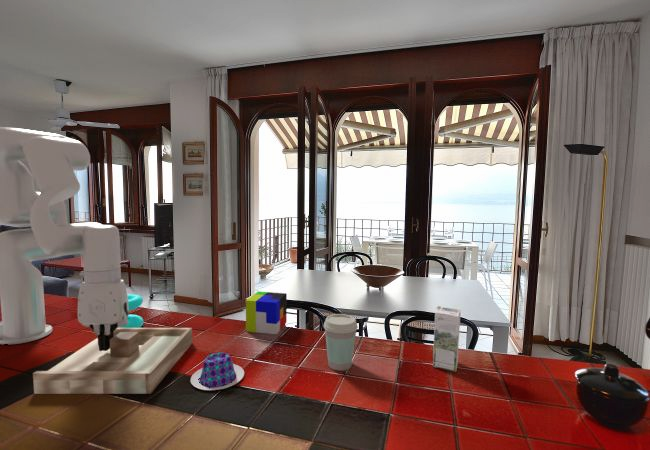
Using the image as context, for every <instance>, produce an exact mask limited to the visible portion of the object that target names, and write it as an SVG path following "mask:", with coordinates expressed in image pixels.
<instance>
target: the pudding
mask: <svg viewBox="0 0 650 450" xmlns="http://www.w3.org/2000/svg"><path fill="white" fill-rule="evenodd" d="M244 377H245V371H244V369H243V368H242V367H241V366H240V365H238V364H235V363H233V360H232V358H231V355H230V354H228V353H227V352H226V353H225V352H222V351H221V352H213V353H212V354H209V355H208V356H207V355H206V357H205V358H204V361H203V365H202V367H201V368H200V369H198V370H196V371H195V372H194V373H192V376H191V377H190V384H191V385H192V386H193V387H194V388H197V389H199V390H202V391H216V390H217V391H218V390H224V389H227V388H230V387H232V386H234V385H236V384H238V383H239V382H240V381H241V380H242V379H243V378H244ZM199 378H200V379H199ZM198 379H199V380H198ZM199 382H200V383H199ZM231 382H232V383H231ZM202 384H203V385H202ZM209 387H210V388H209Z"/></svg>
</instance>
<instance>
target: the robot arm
mask: <svg viewBox="0 0 650 450" xmlns="http://www.w3.org/2000/svg"><path fill="white" fill-rule="evenodd" d="M22 161H26V162H27V165H28V167H27V166H26V165H25V164H24V163H23V162H22ZM90 164H91V154H90V152H89V149H88V147H86V145H85V144H84V143H83V142H81V141H79V140H76V139H74V138H71V137H68V136H64V135H62V134H58V133H51V132H46V131H45V132H44V131H38V130H31V129H24V128H20V127H19V128H18V127H8V126H0V222H1V224H5V225H11V226H12V225H13V226H15V225H16V226H17V225H18V226H19V225H30V228H21V229H20V228H18V229H10V230H5V231H2V232H0V309H1V321H0V345H4V344H8V346H9V345H19V344H25V343H29V342H33V341H36V340H40V339H42V338H44V337H46V336H49V335H50V334H51V333H52V332H53V326H52V325H50V324H46V310H45V298H44V297H45V295H44V293H45V292H44V291H45V290H44V280H43V274H42V272H41V271H40V270H39V268H37V266H34V265H33V264H32V262H35V261H38V260H39V261H40V260H41V261H42V260H46V259H47V260H48V259H54V258H59V257H64V256H69V255H76V254H82V260H83V261H82V262H83V263H82V264H83V270H82V271H80V272H79V276H80V277H83V281H82V282H81V283H80V287H79V291H78V296H77V321H78V323H80V324H81V326H83V327H87V328H90V329H92V330H93V332H94V335H95V336H97V338H98V346H99V351H103V350H104V351H107V350H108V349H110V339H111V338H113V337H114V331H115V330H116V329H117V328H118V327H122V326H125V325H127V324H128V319H127V317H128V315H130V314H129V313H130V311H129V306H128V297H127V294H128V292H127V287H126V283H125V280H124V279H122V275H121V273H122V272H121V270H122V269H121V249H120V246H121V244H120V230H119V228H118V227H117V226H116V225H113V224H102V223H99V222H97V221H96V222H93V221H90V222H74V223H73V222H72V223H68V213H67V206H66V203H65V201H66V200H68V199H70V198H72V197H74V196H76V194H78V193H79V192H80V190H81V184H80V182H79V180H78V178H77V176H76V173H75V171H76V172H77V171H78V172H79V171H80V172H81V171H84V170H86V169H87V168H88V167H89V166H90ZM35 184H36V186H37V188H38V190H39V191H36V190H35Z"/></svg>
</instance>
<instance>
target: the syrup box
mask: <svg viewBox="0 0 650 450" xmlns="http://www.w3.org/2000/svg"><path fill="white" fill-rule="evenodd" d="M460 325H461V309H460V308H454V307H447V306H440V305H438V306H437V307H436V309H435V312H434V331H433V332H434V333H433V350H432V351H433V353H432V355H433V356H432V357H433V358H432V367H433V368H437V369H440V370H445V371H449V372H457V368H458V365H459V364H458V363H459V343H460V328H461V327H460Z"/></svg>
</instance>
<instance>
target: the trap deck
mask: <svg viewBox="0 0 650 450" xmlns="http://www.w3.org/2000/svg"><path fill="white" fill-rule="evenodd" d="M120 332H138V338H139V350H137V351H136V352H135V353H134V354H133V355H132V356H131V357H129V358H111V357H110V349H108V350H107V351H104V350H103V351H99V346H98V337H97V338H95V339H93V340H92V341H90V342H89V343H87V344H86V345H84V346H83V347H81V348H80V349H78V350H77V351H75V352H74V353H72V354H70V355H69V356H67V357H66V358H65V359H63V360H62V361H60V362H59V363H57V364H56V365H54V366H53V367H51V368H50V369H48V370H36V371H34V372H32V379H33V394H34V395H35V394H38V395H39V394H40V395H43V394H44V395H45V394H46V395H48V394H49V395H56V394H58V395H60V394H63V395H66V394H72V395H73V394H76V395H77V394H82V395H84V394H90V395H91V394H99V395H100V394H101V395H102V394H104V395H105V394H109V395H111V394H113V395H114V394H120V395H121V394H127V395H129V394H134V395H137V394H139V395H140V394H142V395H144V394H146V395H147V394H152V393H153V392H154V390H155V389H156V388H157V387H158V386H159V384H160V383H161V382H162V381H163V379H164V378H165V377H166V375H168V374H169V372H170V371H171V370H172V369H173V367H174V366H175V364H177V362H178V361H179V360H180V359H181V357H183V355H184V354H185V352H187V350H188V349H189V348H190V347H191V345H192V344H193V328H192V327H140V328H117V329H116V330H115V331H114V336H116V335H117V334H118V333H120Z"/></svg>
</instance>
